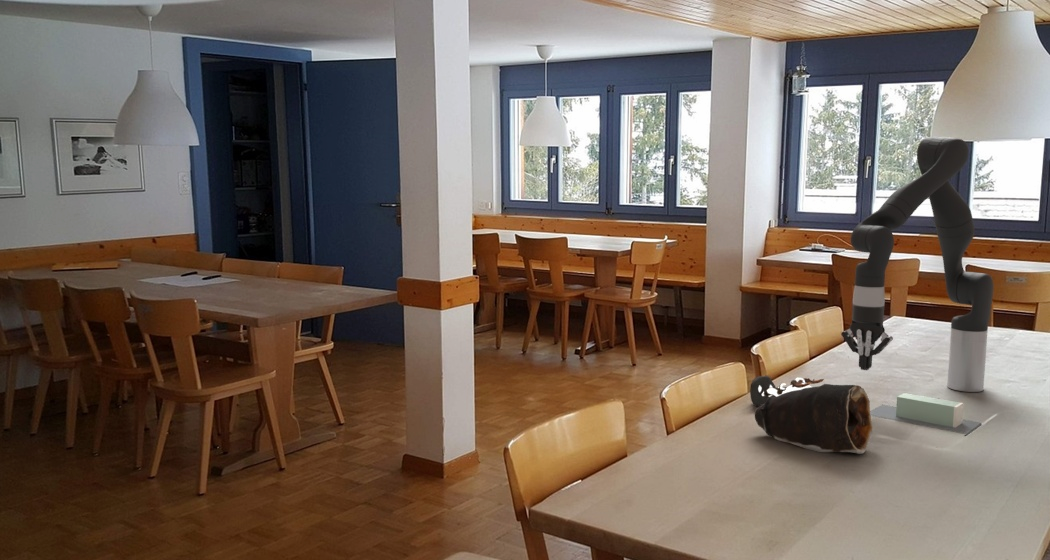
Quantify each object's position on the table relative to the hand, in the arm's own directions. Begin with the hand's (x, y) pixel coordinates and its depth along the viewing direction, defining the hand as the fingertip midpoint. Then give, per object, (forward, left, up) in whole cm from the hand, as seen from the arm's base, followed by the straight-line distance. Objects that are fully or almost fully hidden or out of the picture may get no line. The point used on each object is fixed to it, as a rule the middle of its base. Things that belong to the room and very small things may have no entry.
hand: (864, 369), depth 223 cm
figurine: (+13, -16, -11) cm, 23 cm away
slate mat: (0, +15, -11) cm, 18 cm away
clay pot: (+36, +2, -11) cm, 37 cm away
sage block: (0, +9, -8) cm, 12 cm away
